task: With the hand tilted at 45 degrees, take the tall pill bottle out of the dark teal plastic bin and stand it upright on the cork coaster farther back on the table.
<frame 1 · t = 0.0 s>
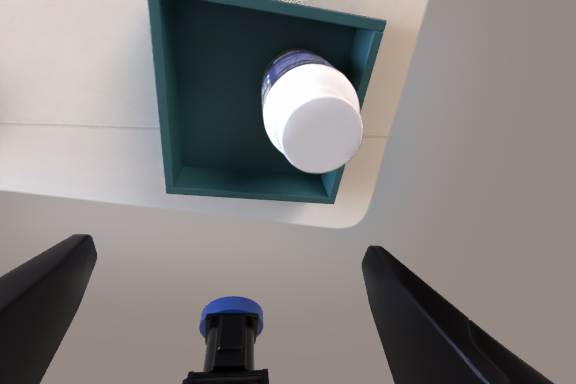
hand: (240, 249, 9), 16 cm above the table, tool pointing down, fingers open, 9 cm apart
pill bottle 2: (295, 86, 22), resting on bin
bin: (261, 101, 22), on the table
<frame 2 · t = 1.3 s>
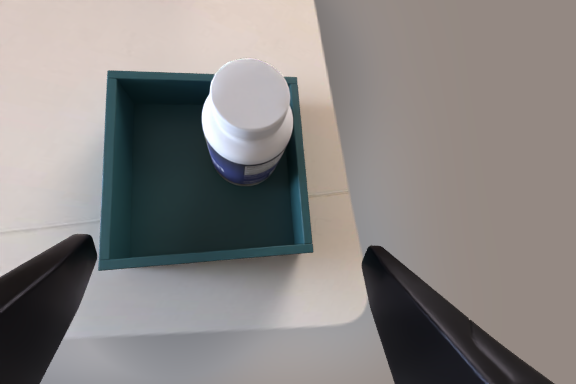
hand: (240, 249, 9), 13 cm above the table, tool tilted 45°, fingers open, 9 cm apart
pill bottle 2: (244, 156, 24), resting on bin
bin: (214, 176, 23), on the table
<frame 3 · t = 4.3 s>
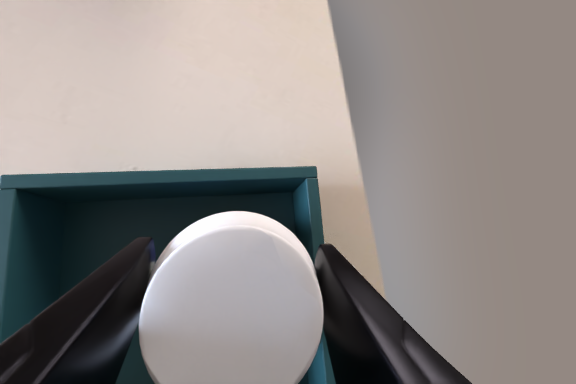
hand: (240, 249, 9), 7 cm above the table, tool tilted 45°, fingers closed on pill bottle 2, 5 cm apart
pill bottle 2: (236, 275, 16), resting on bin, touching gripper
bin: (190, 308, 15), on the table
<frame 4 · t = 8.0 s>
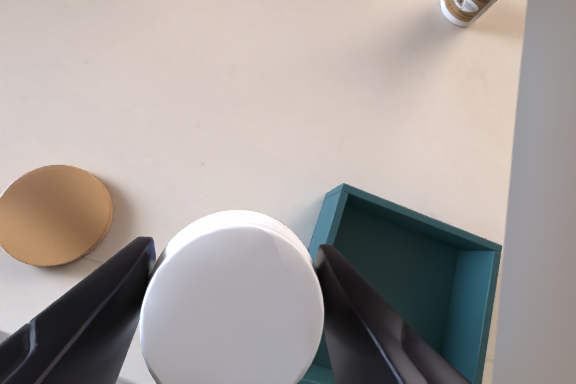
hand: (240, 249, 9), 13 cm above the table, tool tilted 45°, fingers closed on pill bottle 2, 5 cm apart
pill bottle 2: (236, 275, 16), point 6 cm above the table, touching gripper
bin: (376, 296, 23), on the table
coaster: (58, 214, 20), on the table
pill bottle: (455, 11, 31), on the table
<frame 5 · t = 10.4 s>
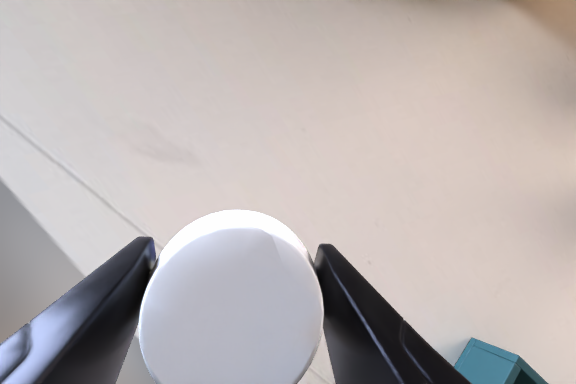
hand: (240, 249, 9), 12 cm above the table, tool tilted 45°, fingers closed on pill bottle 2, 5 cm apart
pill bottle 2: (236, 274, 16), point 5 cm above the table, touching gripper
when the fingers open (7 cm above the table, at t = 12.2 s): pill bottle 2 stays where it is, resting on coaster.
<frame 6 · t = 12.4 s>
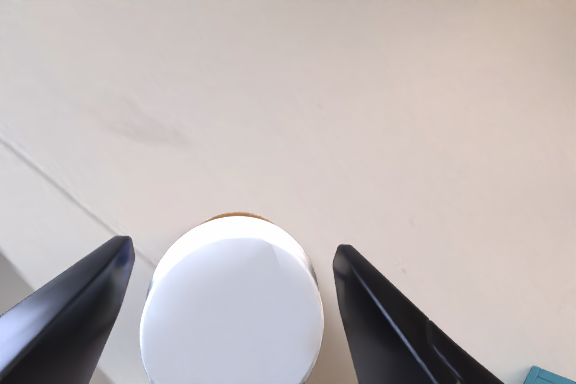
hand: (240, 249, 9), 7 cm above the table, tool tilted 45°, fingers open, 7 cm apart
pill bottle 2: (236, 278, 16), resting on coaster
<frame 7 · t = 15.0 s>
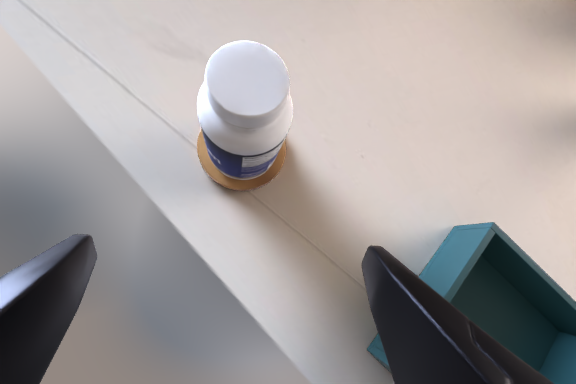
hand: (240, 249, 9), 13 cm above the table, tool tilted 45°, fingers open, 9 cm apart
pill bottle 2: (242, 149, 23), resting on coaster
bin: (470, 338, 24), on the table
coaster: (242, 148, 23), on the table
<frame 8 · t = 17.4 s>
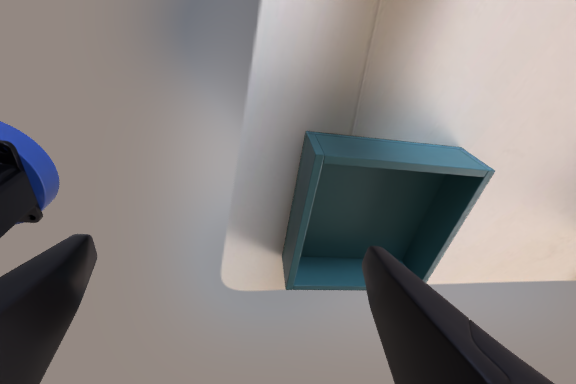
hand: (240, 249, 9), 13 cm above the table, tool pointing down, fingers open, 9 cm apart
bin: (363, 206, 26), on the table
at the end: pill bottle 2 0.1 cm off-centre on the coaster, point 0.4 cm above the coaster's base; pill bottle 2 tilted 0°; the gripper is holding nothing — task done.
